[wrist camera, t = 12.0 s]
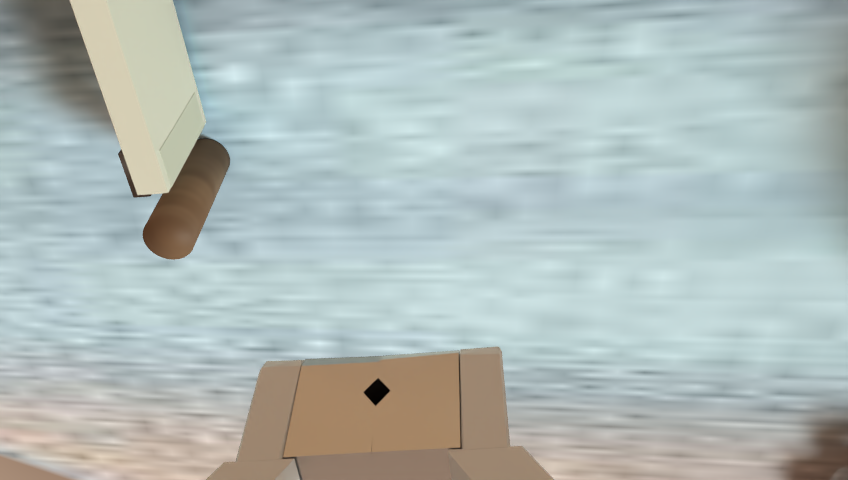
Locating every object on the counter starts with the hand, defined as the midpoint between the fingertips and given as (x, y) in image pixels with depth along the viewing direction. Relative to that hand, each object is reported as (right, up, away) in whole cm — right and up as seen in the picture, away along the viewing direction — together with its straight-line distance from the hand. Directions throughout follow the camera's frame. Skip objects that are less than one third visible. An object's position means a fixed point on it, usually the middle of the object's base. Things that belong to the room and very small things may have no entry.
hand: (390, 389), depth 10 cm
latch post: (-10, +6, +26) cm, 29 cm away
